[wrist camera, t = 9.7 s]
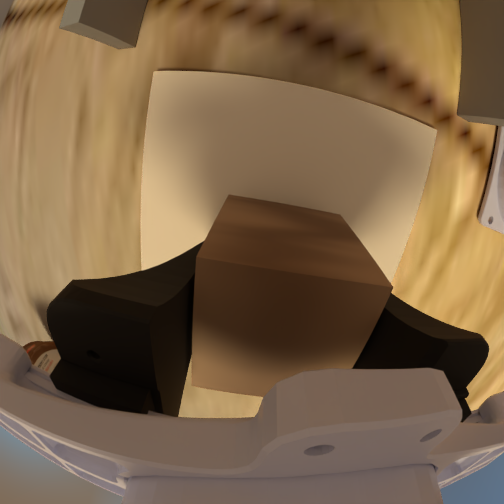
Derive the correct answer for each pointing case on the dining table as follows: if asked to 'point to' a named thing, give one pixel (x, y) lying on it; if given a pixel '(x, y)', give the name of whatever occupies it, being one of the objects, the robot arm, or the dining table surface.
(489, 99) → the open box
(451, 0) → the dining table surface
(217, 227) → the walnut block
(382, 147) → the mat
